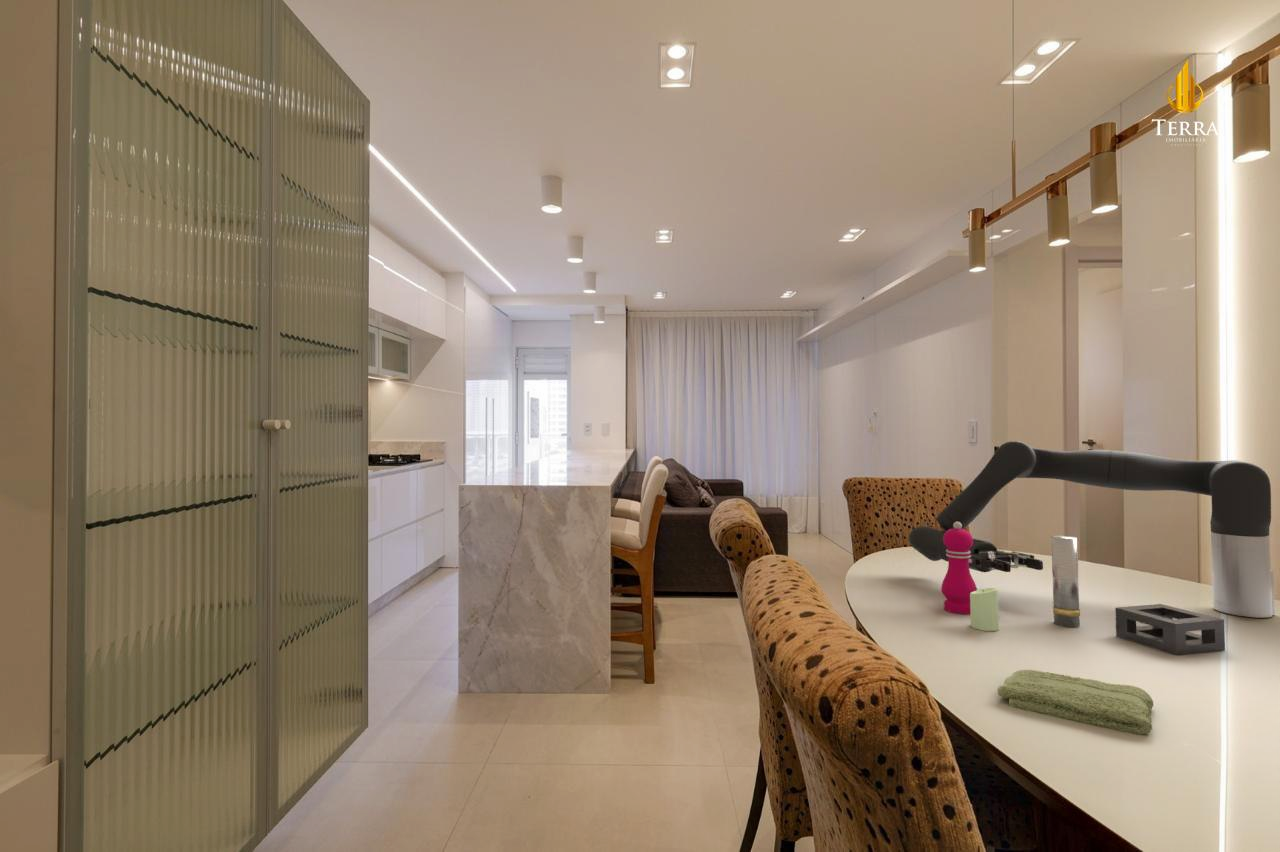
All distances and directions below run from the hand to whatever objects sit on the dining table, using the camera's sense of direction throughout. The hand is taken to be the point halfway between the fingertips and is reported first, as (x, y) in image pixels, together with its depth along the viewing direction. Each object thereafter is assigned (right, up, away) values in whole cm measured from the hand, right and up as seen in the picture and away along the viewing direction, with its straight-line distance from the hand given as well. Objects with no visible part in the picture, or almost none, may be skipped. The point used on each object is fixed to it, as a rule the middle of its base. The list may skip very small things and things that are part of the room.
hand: (1025, 566), depth 136 cm
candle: (-16, -10, -12) cm, 22 cm away
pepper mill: (-14, -10, +1) cm, 18 cm away
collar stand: (+13, -9, -22) cm, 27 cm away
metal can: (+2, -10, -10) cm, 14 cm away
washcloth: (-24, -10, -48) cm, 54 cm away
